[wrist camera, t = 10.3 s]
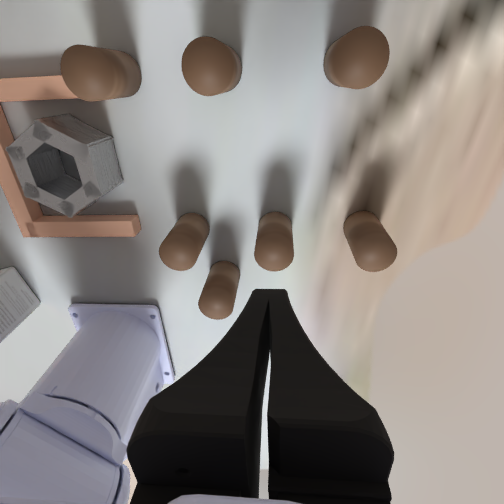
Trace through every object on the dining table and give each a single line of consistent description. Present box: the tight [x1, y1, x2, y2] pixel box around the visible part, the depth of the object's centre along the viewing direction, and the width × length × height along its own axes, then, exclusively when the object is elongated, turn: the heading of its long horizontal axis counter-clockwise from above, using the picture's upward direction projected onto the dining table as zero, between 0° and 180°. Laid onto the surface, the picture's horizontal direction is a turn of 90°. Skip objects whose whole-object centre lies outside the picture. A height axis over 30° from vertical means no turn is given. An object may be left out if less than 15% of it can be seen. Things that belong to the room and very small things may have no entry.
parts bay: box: [0, 75, 141, 237], centre depth 21 cm, size 10×9×1 cm
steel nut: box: [5, 114, 123, 218], centre depth 20 cm, size 6×5×3 cm
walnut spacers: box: [60, 26, 397, 319], centre depth 19 cm, size 20×18×4 cm
